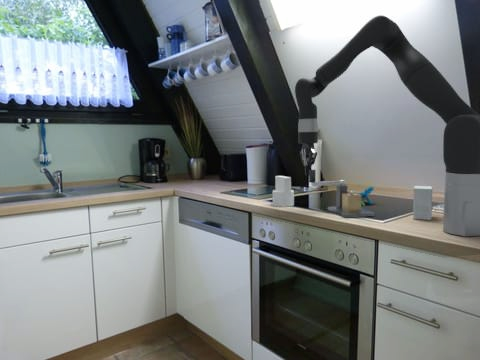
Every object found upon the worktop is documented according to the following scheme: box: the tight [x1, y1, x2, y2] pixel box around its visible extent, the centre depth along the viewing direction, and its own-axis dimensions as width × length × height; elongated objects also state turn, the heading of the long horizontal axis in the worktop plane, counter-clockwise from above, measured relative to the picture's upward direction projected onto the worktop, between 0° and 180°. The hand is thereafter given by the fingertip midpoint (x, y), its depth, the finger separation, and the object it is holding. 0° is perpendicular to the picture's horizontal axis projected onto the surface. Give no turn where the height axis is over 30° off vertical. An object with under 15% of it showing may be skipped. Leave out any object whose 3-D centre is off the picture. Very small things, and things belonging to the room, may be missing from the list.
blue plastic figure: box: [359, 186, 375, 207], centre depth 148 cm, size 11×6×10 cm
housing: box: [342, 190, 362, 212], centre depth 130 cm, size 5×5×7 cm
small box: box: [412, 185, 433, 221], centre depth 121 cm, size 8×6×10 cm
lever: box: [308, 169, 347, 187], centre depth 136 cm, size 15×3×6 cm, turn 99°
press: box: [327, 185, 375, 219], centre depth 132 cm, size 16×11×9 cm
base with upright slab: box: [272, 175, 295, 207], centre depth 151 cm, size 9×9×12 cm
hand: (308, 175), depth 140 cm, fingers closed
